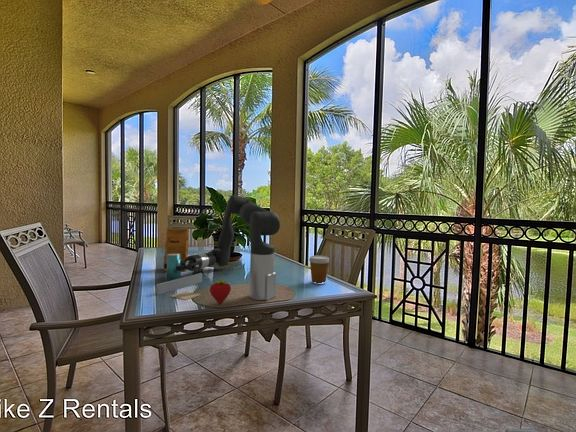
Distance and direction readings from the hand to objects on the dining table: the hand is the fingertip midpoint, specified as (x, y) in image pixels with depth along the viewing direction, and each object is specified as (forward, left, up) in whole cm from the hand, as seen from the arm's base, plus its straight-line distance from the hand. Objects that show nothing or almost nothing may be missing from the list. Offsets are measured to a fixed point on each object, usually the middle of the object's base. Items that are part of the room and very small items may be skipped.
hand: (171, 267), depth 146 cm
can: (0, -2, -7) cm, 7 cm away
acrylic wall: (-11, +4, -7) cm, 14 cm away
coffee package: (+17, -18, -7) cm, 26 cm away
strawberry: (-38, +12, -7) cm, 40 cm away
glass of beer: (-56, -36, -7) cm, 67 cm away
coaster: (-21, +12, -7) cm, 25 cm away
